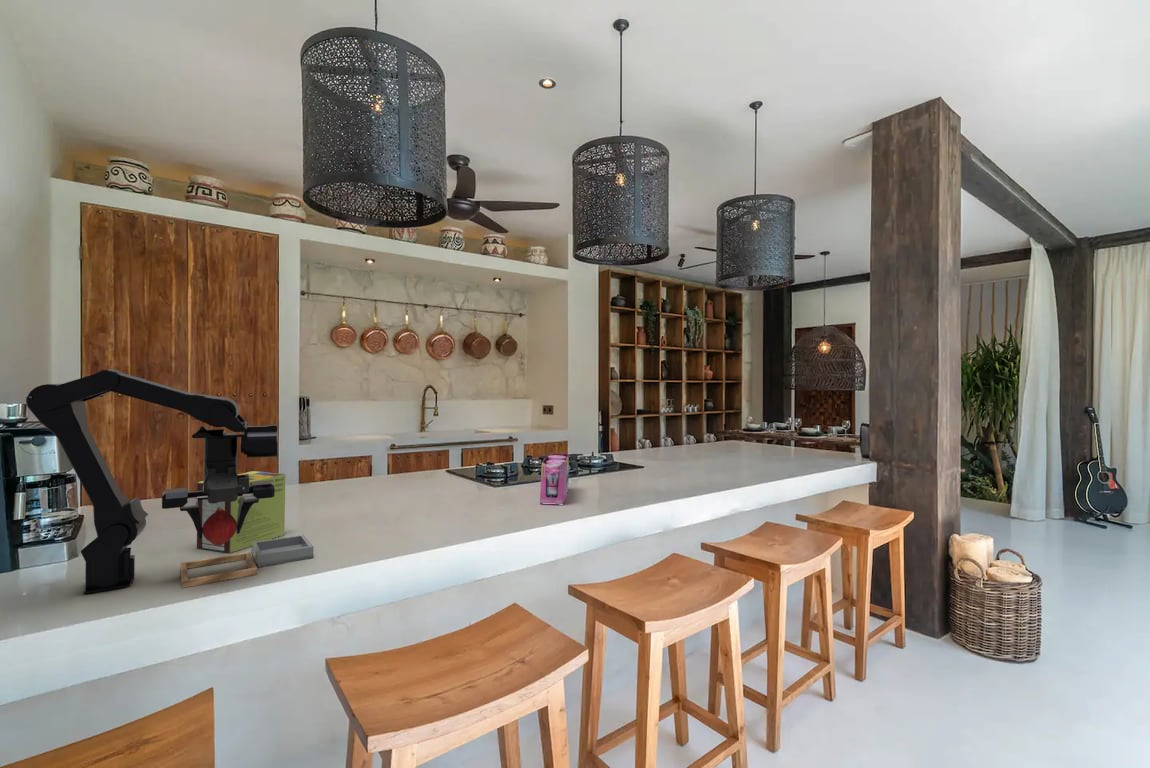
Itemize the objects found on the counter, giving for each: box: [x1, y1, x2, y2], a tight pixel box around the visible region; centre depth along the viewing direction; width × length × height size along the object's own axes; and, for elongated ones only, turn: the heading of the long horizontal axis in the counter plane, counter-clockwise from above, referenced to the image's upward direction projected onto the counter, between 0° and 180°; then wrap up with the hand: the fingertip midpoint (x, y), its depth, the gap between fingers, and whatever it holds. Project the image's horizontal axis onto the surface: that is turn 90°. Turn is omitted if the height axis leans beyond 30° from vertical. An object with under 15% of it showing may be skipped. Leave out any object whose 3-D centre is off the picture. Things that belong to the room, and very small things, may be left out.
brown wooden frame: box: [180, 551, 258, 589], centre depth 107 cm, size 12×12×1 cm
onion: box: [202, 507, 237, 546], centre depth 107 cm, size 6×6×8 cm
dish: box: [251, 534, 314, 568], centre depth 117 cm, size 11×11×2 cm
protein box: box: [196, 470, 286, 554], centre depth 127 cm, size 10×15×16 cm
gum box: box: [539, 453, 570, 505], centre depth 179 cm, size 24×8×14 cm, turn 177°
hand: (219, 535), depth 107 cm, fingers closed on onion, 6 cm apart
